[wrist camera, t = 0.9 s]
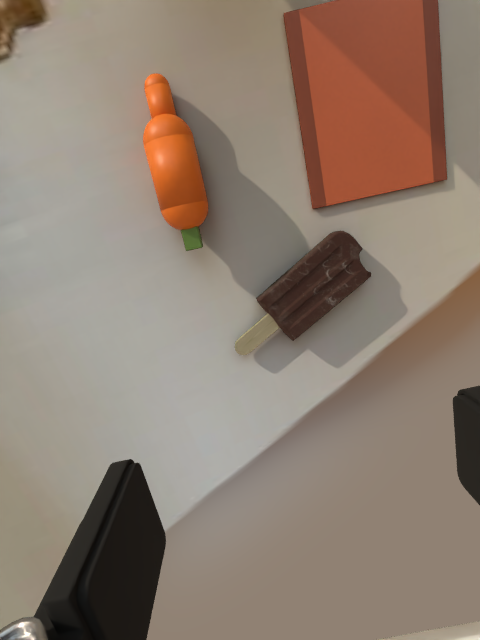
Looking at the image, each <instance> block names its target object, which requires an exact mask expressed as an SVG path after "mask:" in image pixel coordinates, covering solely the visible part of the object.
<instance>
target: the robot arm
mask: <svg viewBox="0 0 480 640" xmlns="http://www.w3.org/2000/svg"><path fill="white" fill-rule="evenodd" d="M453 411H454V427H455V443H456V458H457V472H458V477H459V479H460V482H461V483H462V485H463V486H464V488H465V489H466V490H467V491H468V492H469V494H470V495H471V496H472V497H473V498H474V499H475V500H476V501H477V503H478V504H479V505H480V386H476V387H471V388H467V389H462V390H459V391H458V394H457V396H455V397H454V398H453ZM165 544H166V538H165V532H164V529H163V526H162V523H161V520H160V518H159V515H158V512H157V509H156V507H155V504H154V501H153V498H152V496H151V493H150V490H149V487H148V484H147V482H146V479H145V476H144V473H143V471H142V468H141V465H140V464H139V463H134V461H133V460H131V459H129V460H124V461H119V462H115V463H112V464H111V465H110V466H109V468H108V470H107V472H106V474H105V476H104V478H103V480H102V483H101V485H100V487H99V489H98V491H97V493H96V495H95V497H94V499H93V501H92V503H91V505H90V507H89V509H88V511H87V513H86V515H85V517H84V519H83V521H82V522H81V524H80V525H79V527H78V529H77V531H76V533H75V535H74V537H73V539H72V541H71V543H70V545H69V547H68V549H67V551H66V553H65V555H64V557H63V559H62V561H61V563H60V565H59V567H58V569H57V571H56V573H55V575H54V577H53V579H52V581H51V583H50V585H49V587H48V589H47V591H46V593H45V595H44V597H43V599H42V601H41V603H40V605H39V607H38V609H37V611H36V613H35V615H34V617H26V618H21V619H19V620H16V621H14V622H12V623H10V624H9V625H7V626H5V627H4V628H2V629H1V630H0V640H146V638H147V634H148V628H149V624H150V619H151V613H152V609H153V604H154V599H155V594H156V590H157V585H158V579H159V575H160V569H161V565H162V560H163V555H164V550H165ZM378 640H480V621H478V622H472V623H466V624H462V625H455V626H450V627H444V628H439V629H433V630H428V631H421V632H416V633H410V634H405V635H400V636H394V637H389V638H383V639H378Z"/></svg>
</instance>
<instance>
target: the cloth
mask: <svg viewBox="0 0 480 640" xmlns="http://www.w3.org/2000/svg"><path fill="white" fill-rule="evenodd" d="M284 22H285V29H286V35H287V42H288V48H289V55H290V62H291V68H292V75H293V82H294V88H295V95H296V102H297V108H298V115H299V121H300V128H301V135H302V141H303V148H304V155H305V161H306V168H307V174H308V181H309V188H310V194H311V201H312V208H313V209H315V208H320V207H324V206H329V205H333V204H338V203H343V202H347V201H352V200H356V199H361V198H365V197H370V196H374V195H379V194H383V193H388V192H392V191H397V190H401V189H406V188H410V187H415V186H419V185H424V184H428V183H433V182H437V181H442V180H446V179H447V168H446V149H445V129H444V110H443V91H442V71H441V52H440V33H439V13H438V0H336V1H332V2H328V3H323V4H319V5H315V6H311V7H307V8H303V9H298V10H294V11H290V12H286V13H284Z"/></svg>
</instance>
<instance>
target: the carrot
mask: <svg viewBox="0 0 480 640" xmlns="http://www.w3.org/2000/svg"><path fill="white" fill-rule="evenodd" d="M145 93H146V97H147V101H148V105H149V109H150V113H151V117H152V119H151V120H150V122H149V123H148V124H147V126H146V128H145V131H144V136H143V143H144V148H145V152H146V156H147V159H148V163H149V167H150V171H151V175H152V178H153V182H154V186H155V190H156V194H157V198H158V201H159V205H160V209H161V212H162V215H163V217H164V219H165V220H166V222H167V223H168V224H169V225H171V226H172V227H174V228H176V229H178V230H181V233H182V236H183V240H184V244H185V248H186V251H189V250H193V249H198V248H202V247H203V243H202V239H201V235H200V230H199V226H200V225H201V224H202V223H203V221H204V220H205V218H206V216H207V213H208V200H207V196H206V191H205V187H204V183H203V178H202V174H201V169H200V165H199V160H198V156H197V152H196V147H195V143H194V138H193V135H192V132H191V130H190V128H189V126H188V125H187V124H186V123H185V121H183V120H182V119H181V118H179V117H178V116H176V111H175V107H174V103H173V98H172V94H171V90H170V86H169V83H168V81H167V80H166V78H165V77H164V76H162V75H160V74H151V75H150V76H148V78H147V79H146V81H145Z"/></svg>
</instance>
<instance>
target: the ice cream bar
mask: <svg viewBox="0 0 480 640" xmlns="http://www.w3.org/2000/svg"><path fill="white" fill-rule="evenodd" d="M361 250H362V247H361V246H360V245H359V244H358V242H357V241H356V240H355V239H354V238H353V237H352V236H351V235H350V234H348V233H346V232H344V231H336V232H333V233H330V234H329V235H328V236H327V237H326V238H325V239H324V240H322V241H321V242H320V243H319V244H318V245H317V246H316V247H314V248H313V249H312V250H311V251H310V252H309V253H308V254H306V255H305V256H304V257H303V258H302V259H301V260H300V261H298V262H297V263H296V264H295V265H294V266H293V267H292V268H290V269H289V270H288V271H287V272H286V273H285V274H284V275H282V276H281V277H280V278H279V279H278V280H277V281H276V282H274V283H273V284H272V285H271V286H270V287H269V288H268V289H266V290H265V291H264V292H263V293H262V294H261V295H260V296H258V297H257V298H256V299H257V301H258V303H259V304H260V305H261V306H262V308H263V309H264V310H265V311H266V312H267V313H268V314H267V315H266V316H264V317H263V318H262V319H261V320H260V321H259V322H257V323H256V324H255V325H254V326H253V327H252V328H250V329H249V330H248V331H247V332H246V333H245V334H243V335H242V336H241V337H240V338H239V339H238V340H237V341H236V343H235V350H236V352H237V353H238V354H240V355H247V354H249V353H250V352H251V351H253V350H254V349H255V348H256V347H257V346H258V345H260V344H261V343H262V342H263V341H264V340H266V339H267V338H268V337H269V336H270V335H271V334H273V333H274V332H275V331H276V330H277V329H279V328H281V330H282V331H283V332H284V333H285V334H286V335H287V336H288V337H289V338H291V339H292V340H295V339H296V338H297V337H299V336H300V335H301V334H302V333H303V332H305V331H306V330H307V329H308V328H309V327H311V326H312V325H313V324H314V323H315V322H317V321H318V320H319V319H320V318H321V317H323V316H324V315H325V314H326V313H327V312H329V311H330V310H331V309H332V308H333V307H335V306H336V305H337V304H338V303H339V302H341V301H342V300H343V299H344V298H345V297H347V296H348V295H349V294H350V293H352V292H353V291H354V290H355V289H356V288H358V287H359V286H360V285H361V284H362V283H364V282H365V281H366V280H367V279H368V278H370V277H371V272H368V271H366V269H365V268H364V267H363V265H362V264H361V262H360V258H359V253H360V251H361Z"/></svg>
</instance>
